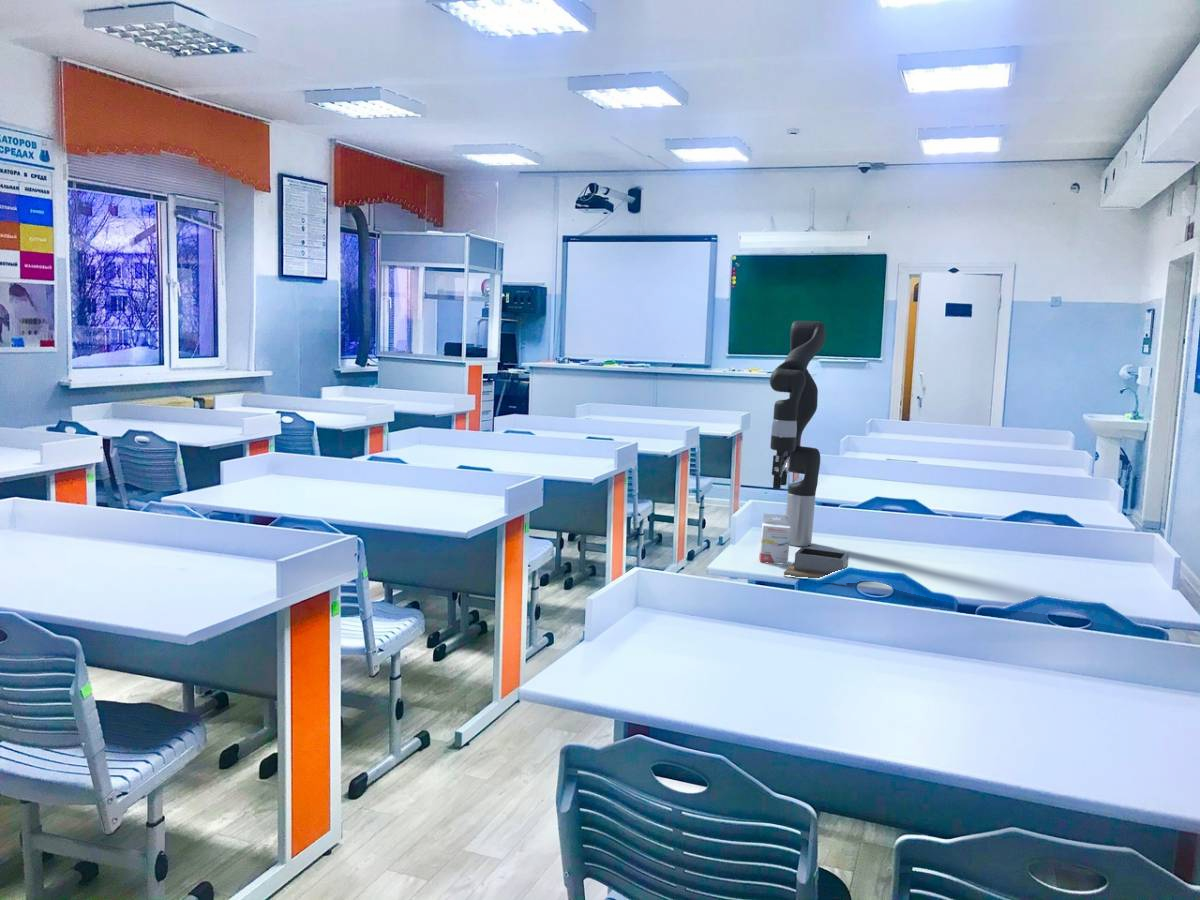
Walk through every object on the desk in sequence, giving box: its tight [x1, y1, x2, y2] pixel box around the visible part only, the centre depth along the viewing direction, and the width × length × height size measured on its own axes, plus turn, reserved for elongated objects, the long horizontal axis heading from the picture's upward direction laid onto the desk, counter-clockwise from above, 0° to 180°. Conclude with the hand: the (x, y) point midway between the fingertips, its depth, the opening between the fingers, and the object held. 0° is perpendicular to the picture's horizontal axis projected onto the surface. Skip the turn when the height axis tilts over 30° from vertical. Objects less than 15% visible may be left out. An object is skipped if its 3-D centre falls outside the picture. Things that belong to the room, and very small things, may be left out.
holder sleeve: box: [793, 546, 850, 575], centre depth 288 cm, size 10×14×5 cm
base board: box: [783, 561, 825, 578], centre depth 289 cm, size 18×18×2 cm
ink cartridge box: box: [758, 513, 791, 565], centre depth 301 cm, size 9×5×15 cm, turn 84°
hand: (779, 486), depth 299 cm, fingers open, 8 cm apart
